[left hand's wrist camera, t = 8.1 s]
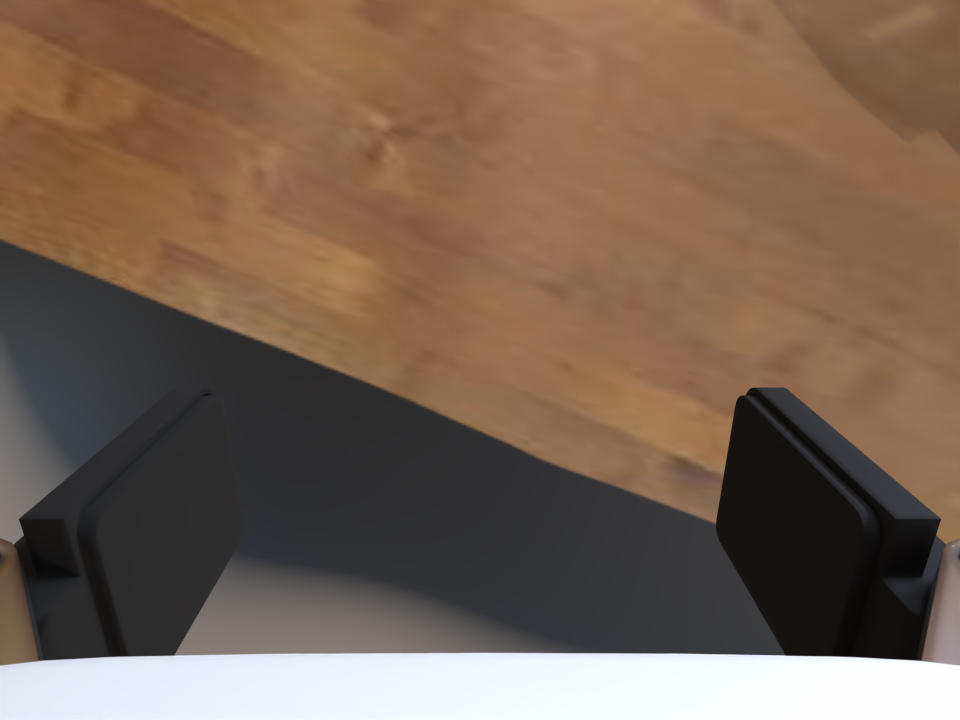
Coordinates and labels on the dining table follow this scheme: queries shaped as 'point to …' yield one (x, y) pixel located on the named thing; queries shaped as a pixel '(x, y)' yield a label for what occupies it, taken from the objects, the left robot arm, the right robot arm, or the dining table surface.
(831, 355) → the dining table surface
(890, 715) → the left robot arm
